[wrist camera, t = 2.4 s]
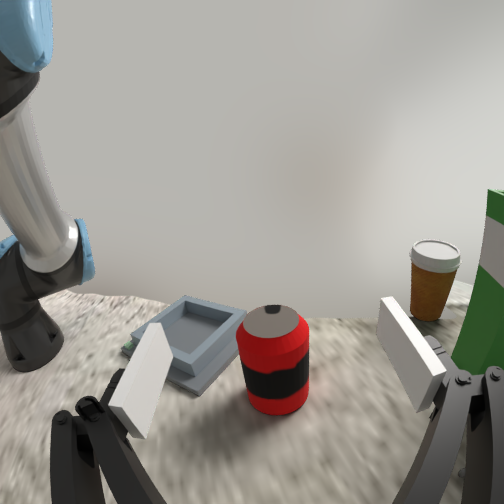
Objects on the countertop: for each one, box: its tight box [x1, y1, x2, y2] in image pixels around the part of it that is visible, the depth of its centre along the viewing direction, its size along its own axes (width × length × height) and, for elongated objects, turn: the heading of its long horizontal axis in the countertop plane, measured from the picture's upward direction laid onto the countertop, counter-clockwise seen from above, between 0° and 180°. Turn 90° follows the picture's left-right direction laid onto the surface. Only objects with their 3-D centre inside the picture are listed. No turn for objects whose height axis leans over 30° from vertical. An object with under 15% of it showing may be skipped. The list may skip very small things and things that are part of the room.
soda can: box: [236, 305, 309, 415], centre depth 29 cm, size 8×8×12 cm
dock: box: [121, 295, 247, 396], centre depth 43 cm, size 18×18×4 cm
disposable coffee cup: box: [409, 239, 462, 321], centre depth 39 cm, size 10×10×12 cm
